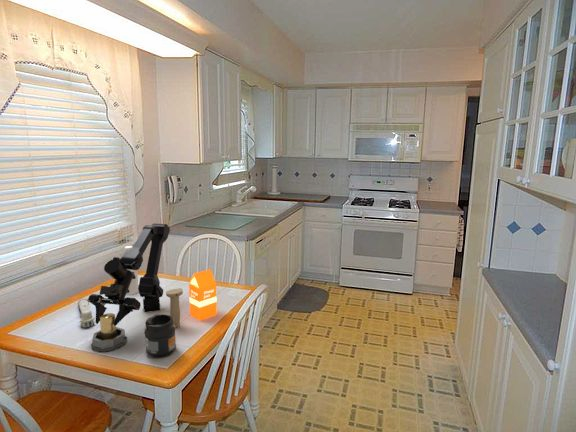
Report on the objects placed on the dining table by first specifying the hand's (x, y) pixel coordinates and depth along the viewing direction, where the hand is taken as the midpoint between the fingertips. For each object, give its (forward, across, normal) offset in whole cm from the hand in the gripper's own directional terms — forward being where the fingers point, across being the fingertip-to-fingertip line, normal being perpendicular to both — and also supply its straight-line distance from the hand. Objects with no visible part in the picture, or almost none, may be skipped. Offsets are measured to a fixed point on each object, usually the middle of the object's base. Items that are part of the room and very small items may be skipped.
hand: (105, 324), depth 137 cm
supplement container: (+6, +21, +6) cm, 23 cm away
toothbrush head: (-8, -24, +20) cm, 32 cm away
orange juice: (-16, +25, +28) cm, 41 cm away
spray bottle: (-28, -20, +40) cm, 52 cm away
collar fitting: (+5, 0, +7) cm, 8 cm away
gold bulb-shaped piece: (+4, 0, +6) cm, 8 cm away
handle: (-8, +18, +20) cm, 27 cm away
